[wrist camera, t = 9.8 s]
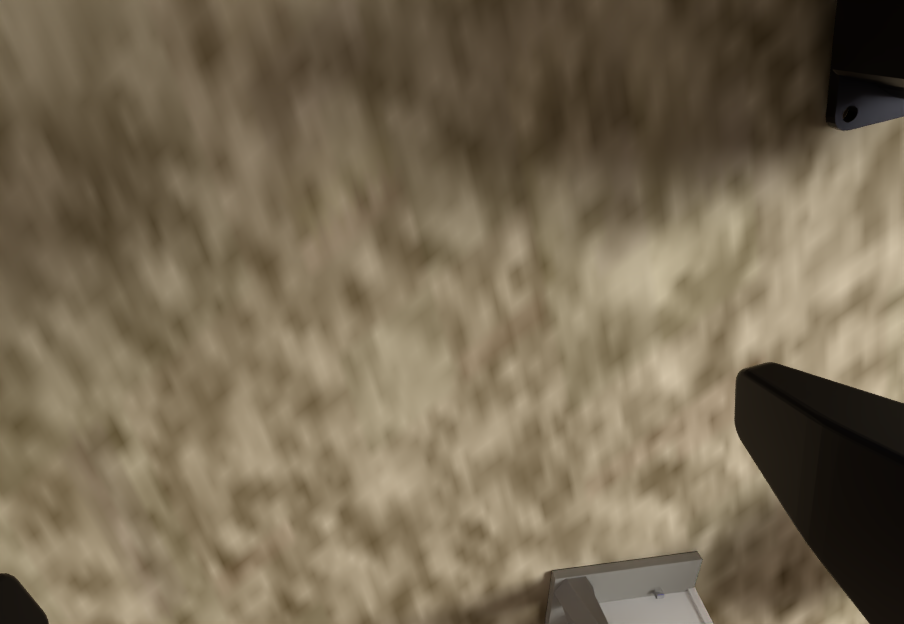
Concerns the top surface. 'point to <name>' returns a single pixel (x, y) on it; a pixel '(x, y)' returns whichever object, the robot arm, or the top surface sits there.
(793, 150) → the top surface
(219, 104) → the top surface
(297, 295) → the top surface
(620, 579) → the skyscraper
